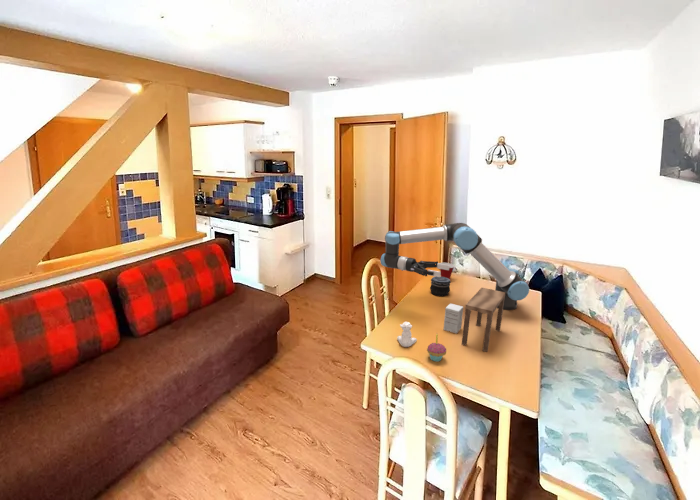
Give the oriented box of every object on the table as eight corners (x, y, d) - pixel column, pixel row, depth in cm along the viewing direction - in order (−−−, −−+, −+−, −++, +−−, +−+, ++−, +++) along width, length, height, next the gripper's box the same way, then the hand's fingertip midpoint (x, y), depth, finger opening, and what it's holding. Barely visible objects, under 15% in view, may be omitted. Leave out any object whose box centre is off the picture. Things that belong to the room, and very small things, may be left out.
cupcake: (424, 354, 175) (426, 330, 172) (442, 353, 176) (444, 330, 173) (429, 364, 167) (431, 339, 164) (448, 363, 167) (451, 339, 164)
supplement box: (447, 324, 205) (450, 302, 201) (461, 328, 201) (463, 306, 197) (442, 329, 199) (445, 307, 195) (456, 333, 195) (459, 311, 191)
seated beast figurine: (416, 341, 186) (418, 318, 183) (415, 350, 178) (417, 326, 175) (397, 338, 188) (398, 316, 185) (395, 347, 180) (396, 324, 177)
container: (437, 288, 257) (438, 274, 254) (453, 293, 248) (455, 279, 245) (425, 292, 249) (426, 278, 246) (442, 298, 240) (443, 283, 237)
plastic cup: (453, 283, 267) (455, 267, 264) (438, 282, 269) (439, 266, 266) (452, 278, 277) (454, 262, 274) (437, 277, 279) (439, 261, 276)
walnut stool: (461, 344, 184) (465, 304, 178) (477, 323, 206) (481, 287, 201) (486, 352, 178) (492, 311, 172) (500, 329, 200) (505, 292, 195)
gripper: (416, 265, 221) (451, 271, 210) (397, 276, 201) (435, 284, 190) (416, 252, 219) (453, 258, 208) (397, 263, 199) (436, 270, 188)
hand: (444, 271), depth 199 cm, fingers open, 13 cm apart
